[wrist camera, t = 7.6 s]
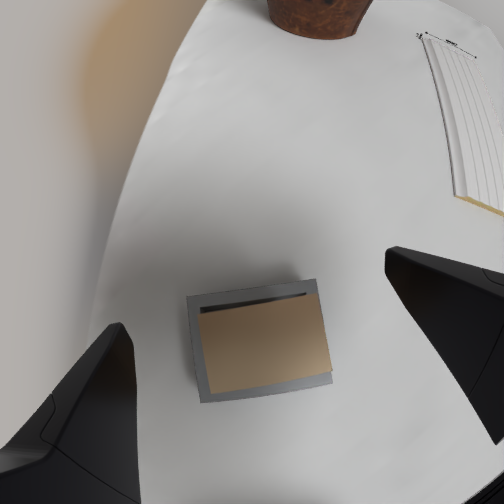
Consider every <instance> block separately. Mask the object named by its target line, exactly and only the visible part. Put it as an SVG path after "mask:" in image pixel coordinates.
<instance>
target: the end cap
mask: <svg viewBox="0 0 504 504" xmlns="http://www.w3.org/2000/svg"><path fill="white" fill-rule="evenodd" d="M314 293H317V295H318V300H319V305H320V299H319V294H318V288H317V283H316V279H310V280H303V281H297V282H290V283H284V284H277V285H270V286H263V287H256V288H249V289H241V290H234V291H226V292H219V293H211V294H203V295H195V296H187V306H188V315H189V324H190V333H191V341H192V349H193V356H194V363H195V370H196V377H197V384H198V391H199V397H200V403H208V402H219V401H229V400H238V399H246V398H254V397H261V396H268V395H274V394H280V393H286V392H292V391H298V390H303V389H308V388H313V387H318V386H323V385H327V384H332V383H333V381H332V374H331V371H330V372H326V373H322V374H317V375H313V376H309V377H305V378H300V379H295V380H291V381H286V382H281V383H276V384H271V385H265V386H260V387H254V388H248V389H242V390H236V391H229V392H222V393H214V394H211V392H210V386H209V381H208V376H207V370H206V365H205V359H204V354H203V348H202V342H201V336H200V330H199V323H198V317H197V314H203V313H209V312H215V311H222V310H228V309H234V308H239V307H245V306H251V305H257V304H262V303H268V302H273V301H278V300H284V299H289V298H294V297H299V296H304V295H309V294H314ZM320 309H321V305H320ZM321 314H322V311H321ZM322 319H323V316H322ZM323 324H324V322H323ZM324 329H325V328H324Z"/></svg>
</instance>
